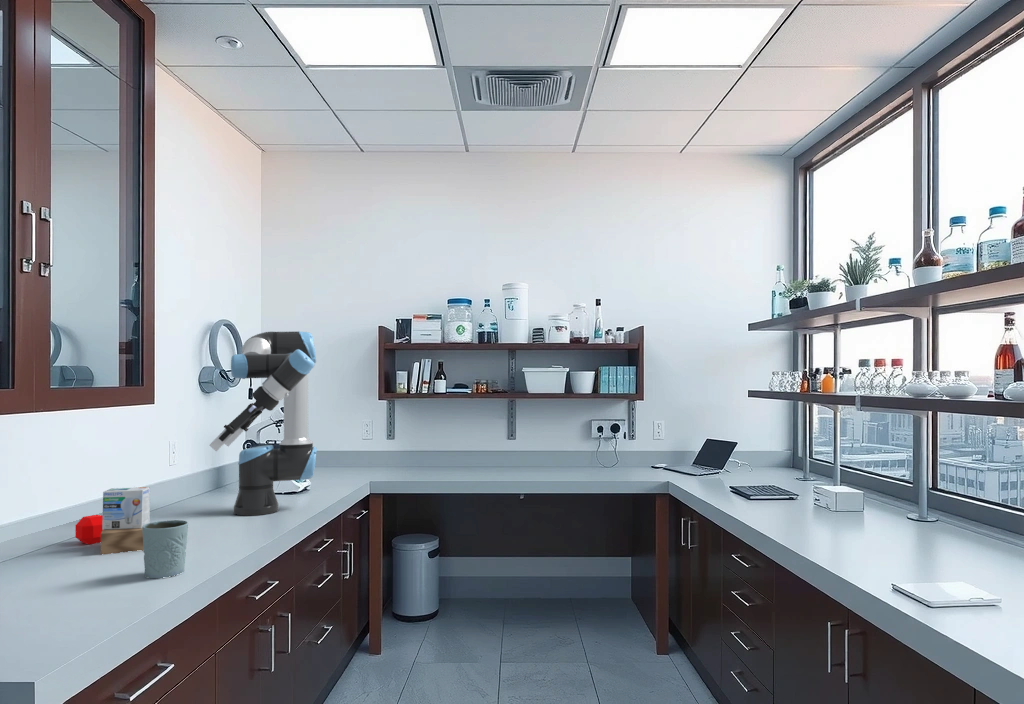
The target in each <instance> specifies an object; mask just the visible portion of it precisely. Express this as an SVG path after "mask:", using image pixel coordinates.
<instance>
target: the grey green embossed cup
mask: <svg viewBox="0 0 1024 704" xmlns="http://www.w3.org/2000/svg"><path fill="white" fill-rule="evenodd" d="M188 529H189V521H187V520H181V519H178V520H177V519H172V520H171V519H169V520H168V519H167V520H160V521H159V520H158V521H153V522H152V521H151V522H150V523H147V524H145V525H143V526H142V533H143V550H142V551H143V565H144V577H145V576H146V577H149V578H148V579H150V578H162V579H164V578H163V577H169V576H174V575H177V574H180V573H182V572H184V573H185V563H186V556H187V555H186V554H187V553H186V550H187V543H188V531H189V530H188ZM146 577H145V578H146ZM174 577H175V576H174ZM169 578H170V577H169Z"/></svg>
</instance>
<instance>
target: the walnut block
mask: <svg viewBox="0 0 1024 704" xmlns="http://www.w3.org/2000/svg"><path fill="white" fill-rule="evenodd" d="M137 550H142V551H144V550H143V533H142V528H134V529H108V530H102V532H101V543H100V555H102V554H103V555H110V554H111V553H113V554H121V553H120V552H123V553H129V552H128V551H132V552H138V551H137ZM111 555H112V554H111Z"/></svg>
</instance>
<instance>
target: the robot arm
mask: <svg viewBox="0 0 1024 704" xmlns="http://www.w3.org/2000/svg"><path fill="white" fill-rule="evenodd" d="M241 352H242V353H240V354H239V353H238V354H233V355H232V356H231V360H230V373H231V377H232V379H233V378H234V379H242V380H245V379H265V380H264V381H263V382H262V384H261V386H258V387H257V389H255V390H254V392H253V393H251V395H252V397H253V399H254V400H255V402H254V403H253V402H252V403H249V404H248V405H247V407H246V408H245V409H244V410H243V411H241V413H240V414H238V415H237V416H236V417H235V418H234V419H233V420H232V421H230V422H229V424H225V425H224V426H223V428H224V430H223V431H222V432H221V433H219V435H217V436H216V438H215V439H213V441H212V442H210V443H209V446H210V448H212V449H213V450H214V451H215V452H218V451H219V450H220V449H221V448H222V447H223V446H224V445H226V447H228V448H229V447H230V445H232V444H233V442H235V441H236V440H237V438H238V437H239V436H240V435H241V434H243V432H248V431H249V427H250V426H251V424H252V423H254V422H255V420H256V419H257V418H258V417H259V416H260V415H261V414H262V413H263V411H264V410H267V411H273V410H274V408H275V407H277V405H279V403H280V401H283V439H282V440H281V441H280V443H279V444H278V445H279V448H274V445H272V444H267V445H259V446H258V445H257V446H253V447H249V448H245V449H242V450H241V451H240V452H239V455H238V464H237V465H238V493H237V496H236V499H235V502H234V504H233V514H234V515H235V514H237V515H236V516H260V515H261V516H263V515H267V514H272V513H273V514H274V513H277V512H278V511H279V502H278V500H277V496H276V494H275V490H274V482H286V481H303V480H311V479H312V478H313V477H314V473H315V467H316V459H317V451H318V450H317V447H315V446H313V445H314V443H313V441H312V440H311V439H310V437H309V373H310V372H311V371H312V369H314V368H315V364H316V363H317V356H316V348H315V342H314V336H313V334H312V333H311V332H307V331H299V330H298V331H265V332H261V333H257V334H255V335H252V336H250V337H249V338H248V339H247V340H246V341H245V342H244V343H243V344H242V348H241Z"/></svg>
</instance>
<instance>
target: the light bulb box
mask: <svg viewBox="0 0 1024 704" xmlns="http://www.w3.org/2000/svg"><path fill="white" fill-rule="evenodd" d="M150 496H151V488H150V486H141V487H139V486H138V487H135V486H134V487H116V488H115V487H114V488H109V489H107V490H104V491H103V492H102V516H103V521H102V530H108V529H134V528H142V526H143V525H145V524H147V523H151V522H150V521H151V520H150V516H151V515H150V511H151V510H150V507H151V506H150V505H151V504H150V503H151V502H150V501H151V499H150V498H151V497H150Z"/></svg>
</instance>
